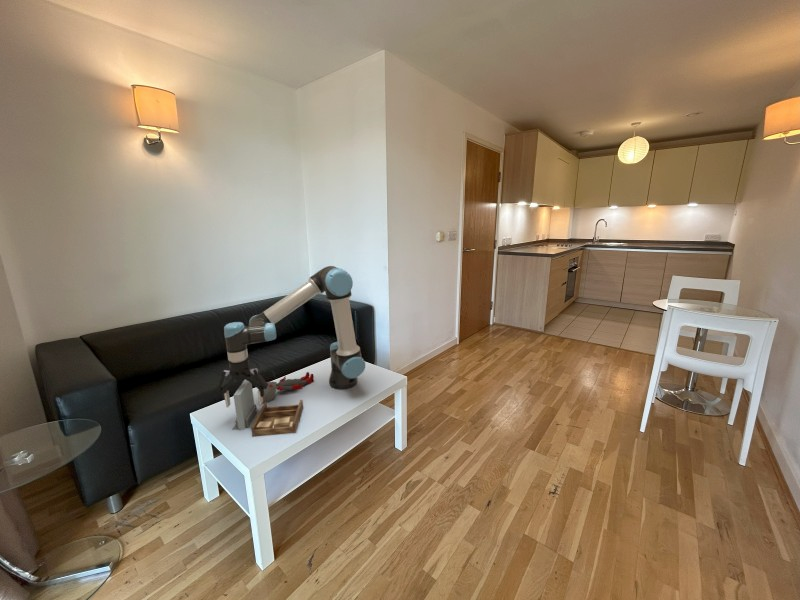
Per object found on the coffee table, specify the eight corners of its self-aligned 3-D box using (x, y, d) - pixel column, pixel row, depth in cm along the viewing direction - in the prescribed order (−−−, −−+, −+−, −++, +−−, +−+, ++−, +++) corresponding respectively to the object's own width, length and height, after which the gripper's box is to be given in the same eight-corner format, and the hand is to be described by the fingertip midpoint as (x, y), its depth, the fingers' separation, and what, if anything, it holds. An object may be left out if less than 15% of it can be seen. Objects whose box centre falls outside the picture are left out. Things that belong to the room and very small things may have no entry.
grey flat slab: (245, 429, 136) (240, 394, 133) (238, 429, 136) (233, 395, 132) (255, 410, 150) (251, 378, 146) (249, 410, 150) (245, 379, 146)
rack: (303, 409, 152) (302, 399, 151) (295, 434, 134) (294, 424, 133) (265, 412, 150) (264, 402, 149) (252, 438, 132) (251, 427, 131)
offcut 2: (290, 421, 138) (289, 417, 137) (289, 426, 135) (289, 422, 134) (275, 423, 137) (274, 419, 136) (274, 428, 133) (273, 424, 133)
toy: (320, 376, 175) (268, 389, 151) (318, 393, 176) (267, 409, 152) (301, 368, 184) (250, 380, 160) (300, 385, 185) (249, 398, 161)
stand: (242, 414, 149) (241, 405, 148) (261, 412, 150) (259, 403, 149) (232, 431, 136) (230, 422, 135) (252, 429, 137) (250, 420, 136)
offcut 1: (272, 427, 137) (271, 421, 136) (269, 433, 134) (268, 426, 133) (260, 427, 137) (260, 421, 136) (257, 433, 134) (256, 426, 133)
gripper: (271, 353, 141) (276, 397, 146) (210, 357, 138) (218, 402, 143) (267, 360, 134) (272, 406, 139) (202, 364, 131) (210, 411, 136)
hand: (244, 404), depth 141 cm, fingers open, 13 cm apart
